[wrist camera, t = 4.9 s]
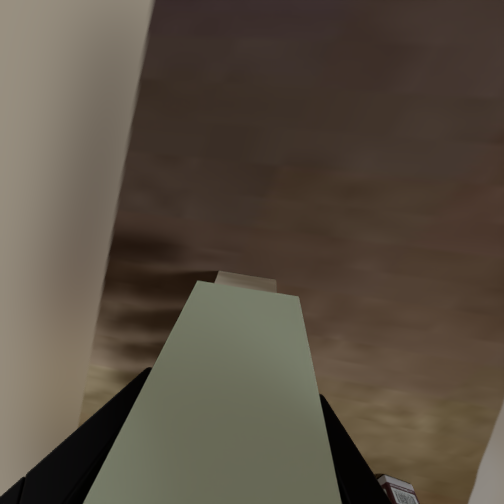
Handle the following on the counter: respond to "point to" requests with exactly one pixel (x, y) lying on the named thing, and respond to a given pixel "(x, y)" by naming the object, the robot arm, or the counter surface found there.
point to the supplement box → (398, 490)
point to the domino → (226, 411)
